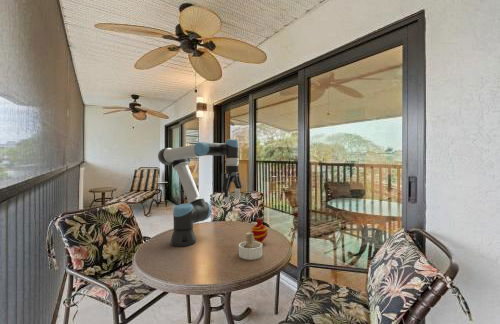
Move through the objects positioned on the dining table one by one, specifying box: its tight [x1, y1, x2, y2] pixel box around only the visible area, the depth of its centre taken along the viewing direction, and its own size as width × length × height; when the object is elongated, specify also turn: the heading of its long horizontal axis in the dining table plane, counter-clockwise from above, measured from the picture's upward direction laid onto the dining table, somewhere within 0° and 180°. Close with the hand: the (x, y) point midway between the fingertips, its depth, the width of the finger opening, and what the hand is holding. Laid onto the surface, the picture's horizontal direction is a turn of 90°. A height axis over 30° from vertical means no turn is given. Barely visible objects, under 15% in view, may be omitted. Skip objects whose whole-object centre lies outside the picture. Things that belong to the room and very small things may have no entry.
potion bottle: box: [250, 217, 269, 245], centre depth 157 cm, size 10×10×15 cm
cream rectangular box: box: [245, 232, 255, 248], centre depth 137 cm, size 4×2×11 cm, turn 69°
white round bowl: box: [238, 240, 263, 261], centre depth 137 cm, size 13×13×6 cm
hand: (232, 200), depth 152 cm, fingers open, 13 cm apart
